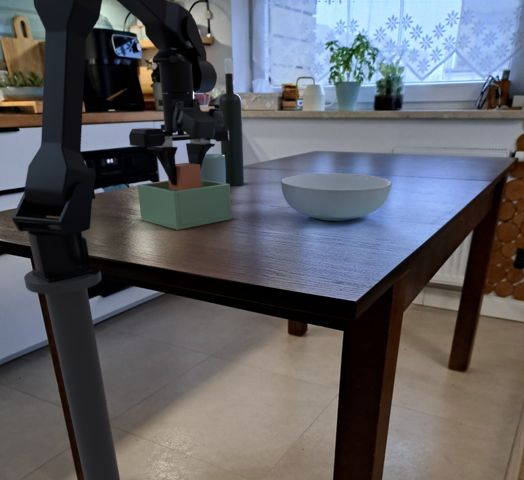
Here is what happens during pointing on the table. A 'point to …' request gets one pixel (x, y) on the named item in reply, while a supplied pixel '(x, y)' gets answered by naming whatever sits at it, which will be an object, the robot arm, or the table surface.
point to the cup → (213, 168)
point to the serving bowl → (335, 195)
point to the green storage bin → (184, 204)
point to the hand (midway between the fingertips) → (184, 183)
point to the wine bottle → (232, 129)
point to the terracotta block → (187, 177)
